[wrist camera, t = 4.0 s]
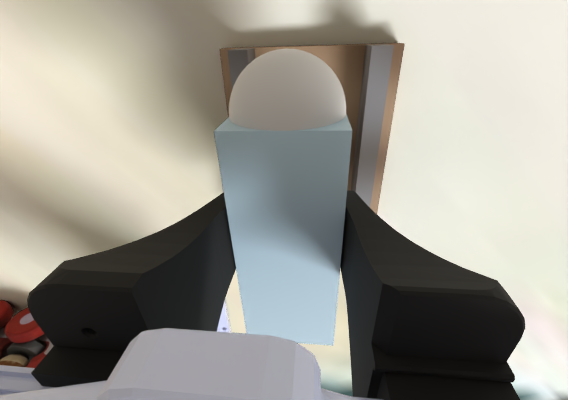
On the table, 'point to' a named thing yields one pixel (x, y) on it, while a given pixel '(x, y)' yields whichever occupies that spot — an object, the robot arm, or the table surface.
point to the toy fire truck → (21, 338)
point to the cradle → (348, 101)
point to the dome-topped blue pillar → (287, 193)
